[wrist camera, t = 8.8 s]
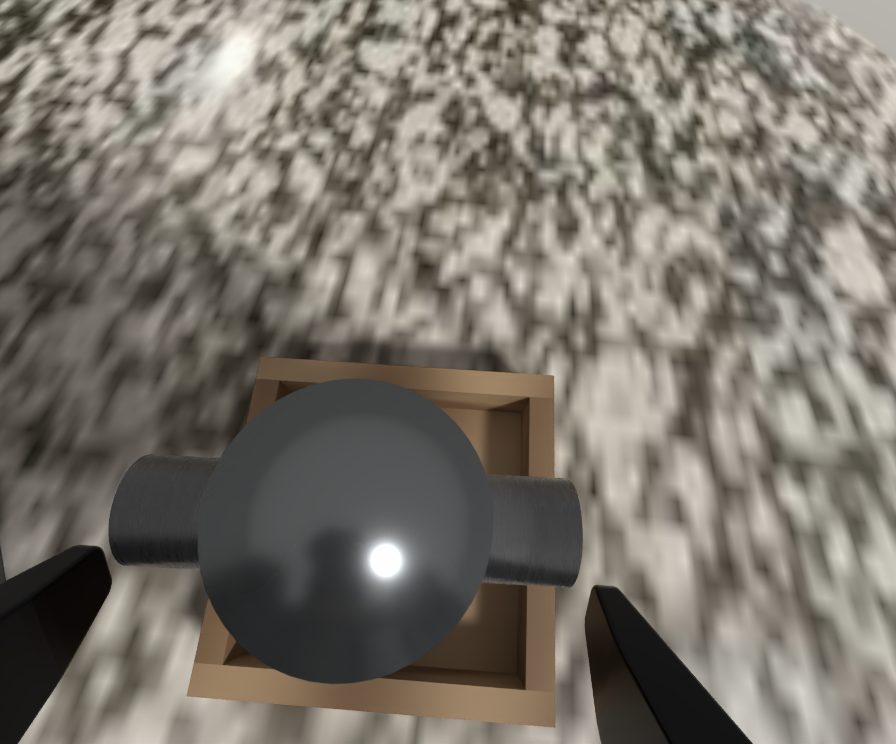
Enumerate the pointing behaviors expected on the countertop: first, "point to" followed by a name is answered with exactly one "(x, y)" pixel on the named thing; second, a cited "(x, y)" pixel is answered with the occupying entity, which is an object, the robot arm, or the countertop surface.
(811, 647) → the countertop surface
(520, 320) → the countertop surface
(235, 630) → the chuck key
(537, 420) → the tray
